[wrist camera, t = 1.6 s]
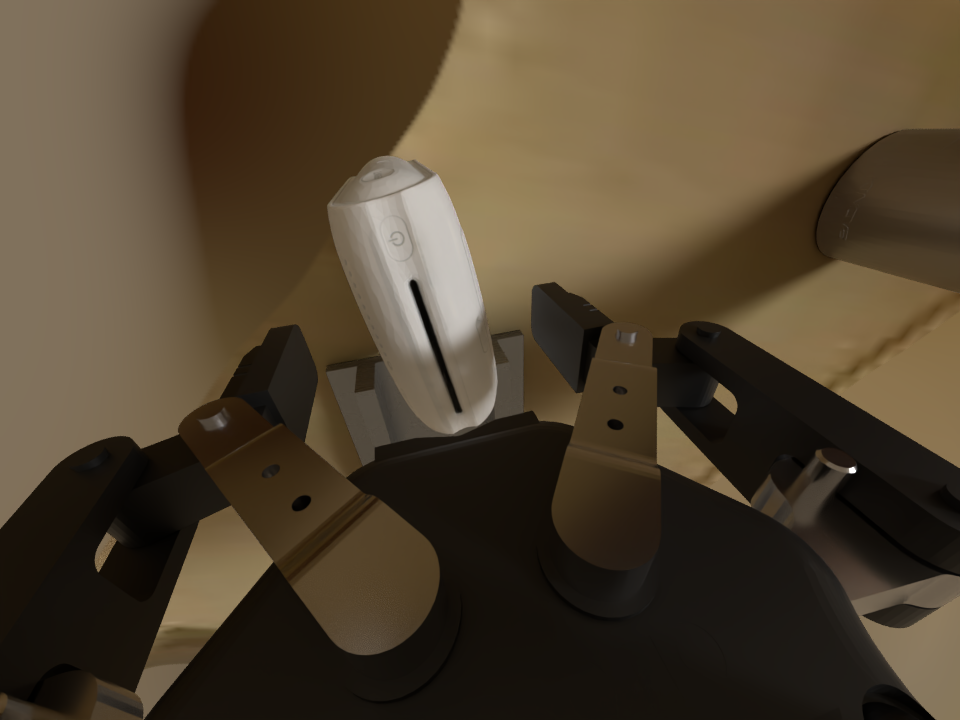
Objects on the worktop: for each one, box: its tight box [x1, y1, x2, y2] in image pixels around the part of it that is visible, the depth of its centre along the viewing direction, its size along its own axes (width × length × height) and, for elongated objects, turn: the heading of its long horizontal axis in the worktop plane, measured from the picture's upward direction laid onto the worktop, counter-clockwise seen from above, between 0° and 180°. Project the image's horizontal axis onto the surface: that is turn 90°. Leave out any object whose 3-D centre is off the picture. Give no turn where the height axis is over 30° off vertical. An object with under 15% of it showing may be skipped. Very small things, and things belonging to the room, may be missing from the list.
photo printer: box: [327, 156, 498, 434], centre depth 16 cm, size 10×4×12 cm, turn 12°
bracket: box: [326, 330, 524, 466], centre depth 29 cm, size 14×18×4 cm
